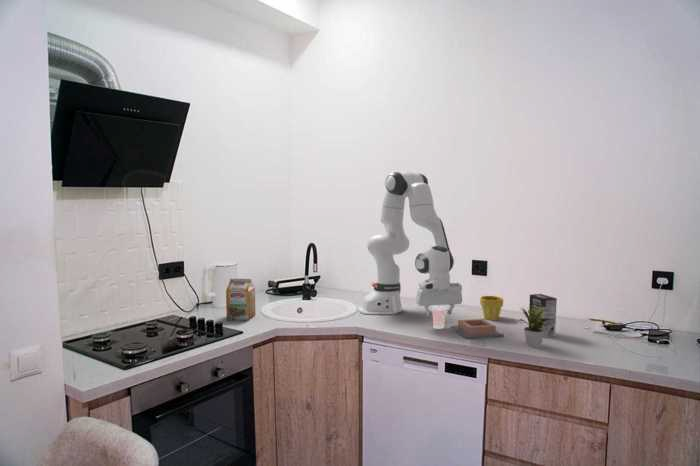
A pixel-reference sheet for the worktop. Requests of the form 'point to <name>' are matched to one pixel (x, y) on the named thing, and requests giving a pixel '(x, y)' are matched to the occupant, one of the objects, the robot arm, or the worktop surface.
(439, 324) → the beverage cup
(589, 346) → the worktop surface
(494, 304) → the plant pot
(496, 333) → the cup holder
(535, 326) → the house plant
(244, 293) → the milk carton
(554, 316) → the coffee box
